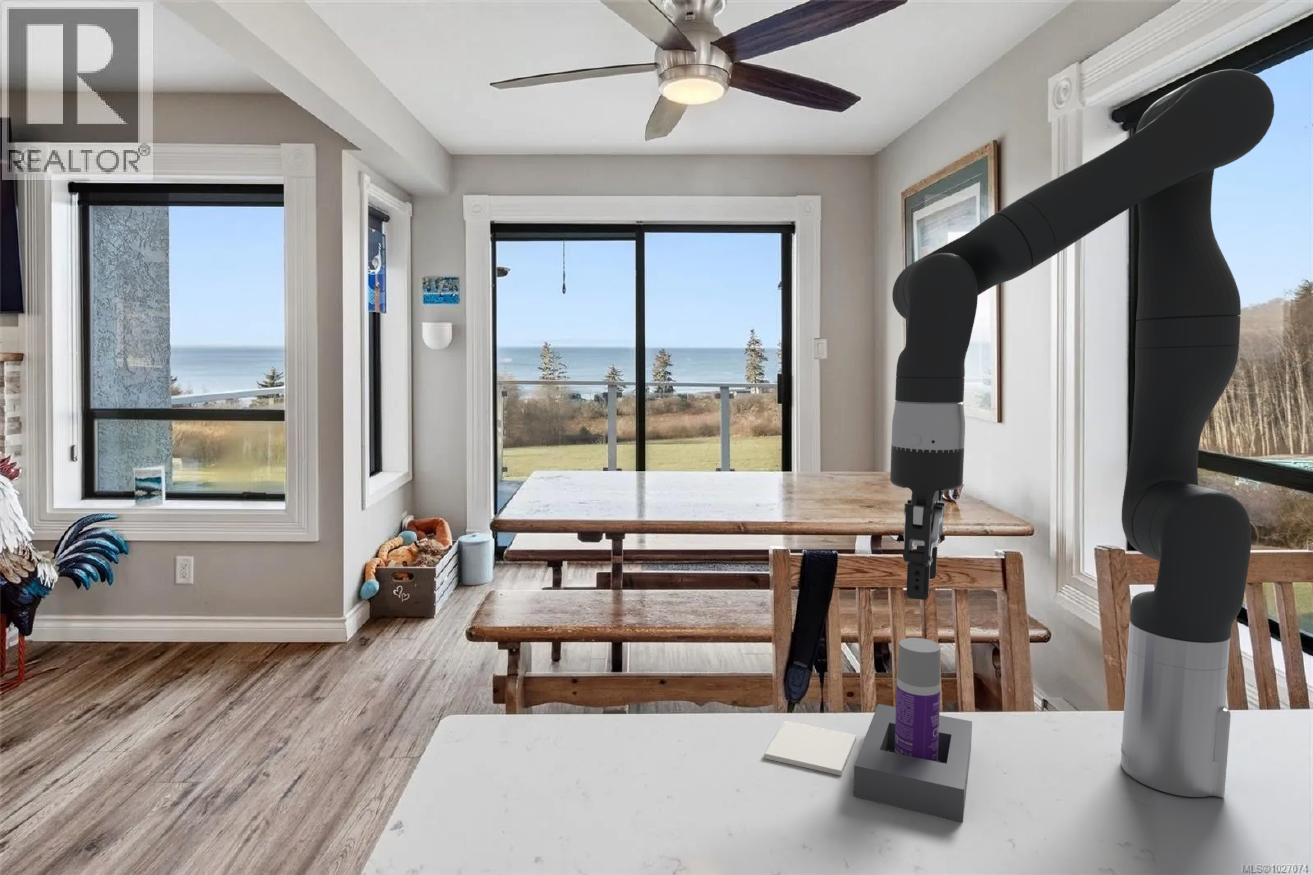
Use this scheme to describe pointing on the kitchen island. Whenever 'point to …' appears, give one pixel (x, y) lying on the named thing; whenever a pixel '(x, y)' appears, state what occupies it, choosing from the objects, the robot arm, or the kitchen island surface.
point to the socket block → (915, 768)
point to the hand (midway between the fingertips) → (921, 587)
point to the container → (918, 698)
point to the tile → (811, 747)
